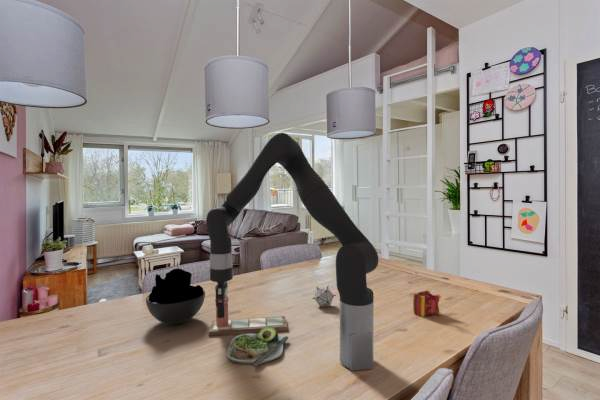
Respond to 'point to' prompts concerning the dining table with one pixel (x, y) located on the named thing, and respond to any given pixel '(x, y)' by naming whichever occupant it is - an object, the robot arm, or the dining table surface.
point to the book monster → (426, 303)
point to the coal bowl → (175, 297)
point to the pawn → (224, 321)
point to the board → (248, 326)
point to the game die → (323, 297)
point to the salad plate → (257, 346)
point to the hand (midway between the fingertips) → (222, 312)
